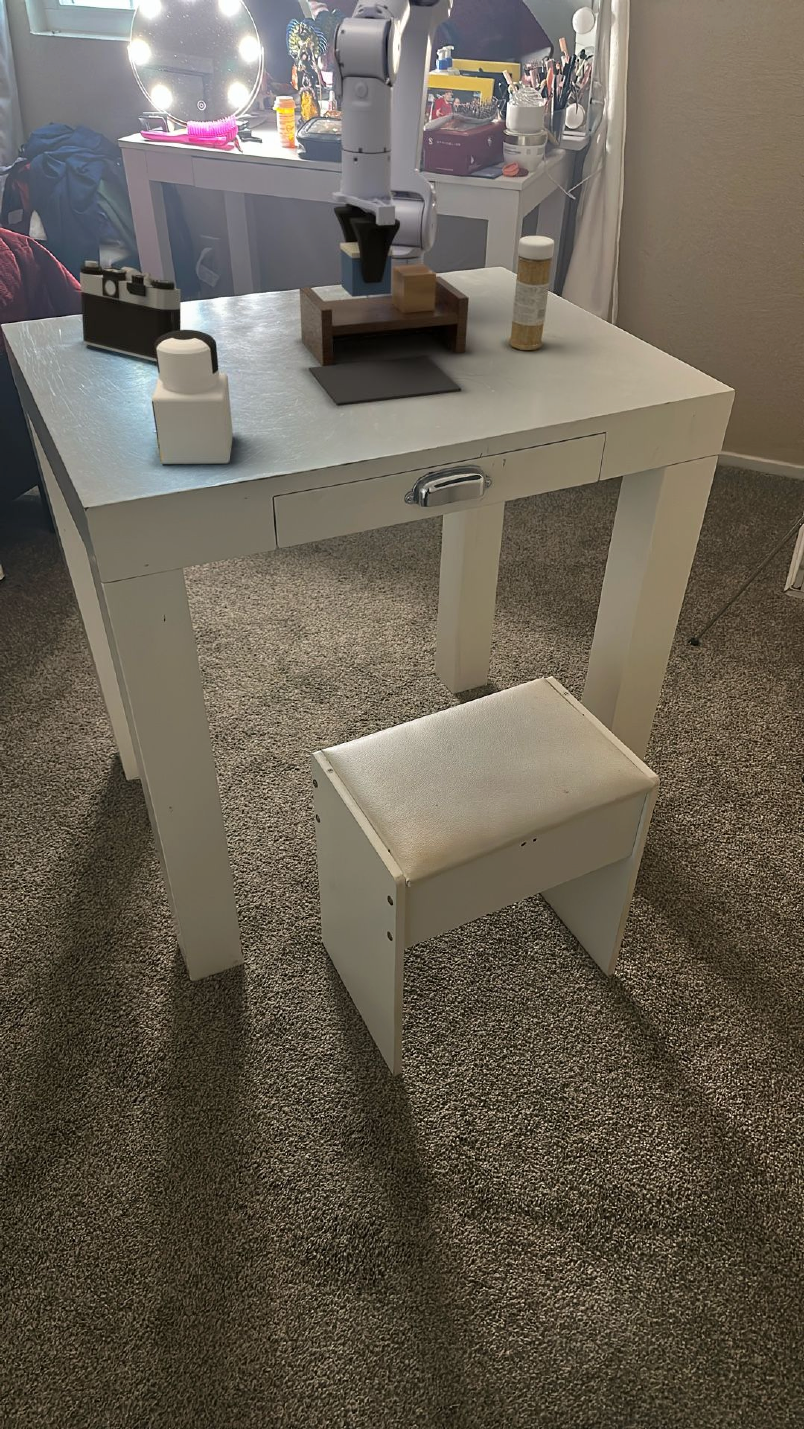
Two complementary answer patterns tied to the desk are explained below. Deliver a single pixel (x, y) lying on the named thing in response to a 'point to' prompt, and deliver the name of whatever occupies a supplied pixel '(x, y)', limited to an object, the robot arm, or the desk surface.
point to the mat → (383, 380)
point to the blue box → (353, 273)
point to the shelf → (380, 319)
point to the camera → (127, 309)
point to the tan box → (413, 288)
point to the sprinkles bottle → (531, 291)
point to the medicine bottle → (191, 400)
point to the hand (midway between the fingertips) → (366, 276)
